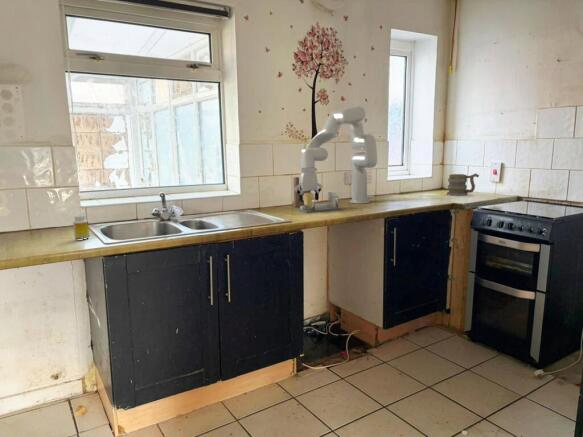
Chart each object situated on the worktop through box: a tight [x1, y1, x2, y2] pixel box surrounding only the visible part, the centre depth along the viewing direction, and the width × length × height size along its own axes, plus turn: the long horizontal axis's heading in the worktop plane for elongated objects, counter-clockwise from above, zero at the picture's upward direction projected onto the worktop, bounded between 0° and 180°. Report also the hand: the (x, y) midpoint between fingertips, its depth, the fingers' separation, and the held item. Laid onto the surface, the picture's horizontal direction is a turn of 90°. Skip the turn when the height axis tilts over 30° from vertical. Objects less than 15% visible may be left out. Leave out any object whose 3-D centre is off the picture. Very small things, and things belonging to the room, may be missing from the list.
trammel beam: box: [299, 191, 340, 209], centre depth 250 cm, size 21×9×8 cm, turn 114°
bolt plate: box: [296, 205, 342, 214], centre depth 252 cm, size 22×13×1 cm, turn 114°
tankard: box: [446, 173, 480, 197], centre depth 301 cm, size 20×13×15 cm, turn 55°
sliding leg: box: [303, 192, 316, 209], centre depth 247 cm, size 4×9×8 cm, turn 24°
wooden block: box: [292, 176, 312, 208], centre depth 267 cm, size 4×11×18 cm, turn 113°
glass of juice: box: [72, 214, 90, 240], centre depth 186 cm, size 6×6×10 cm
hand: (308, 200), depth 250 cm, fingers open, 9 cm apart
